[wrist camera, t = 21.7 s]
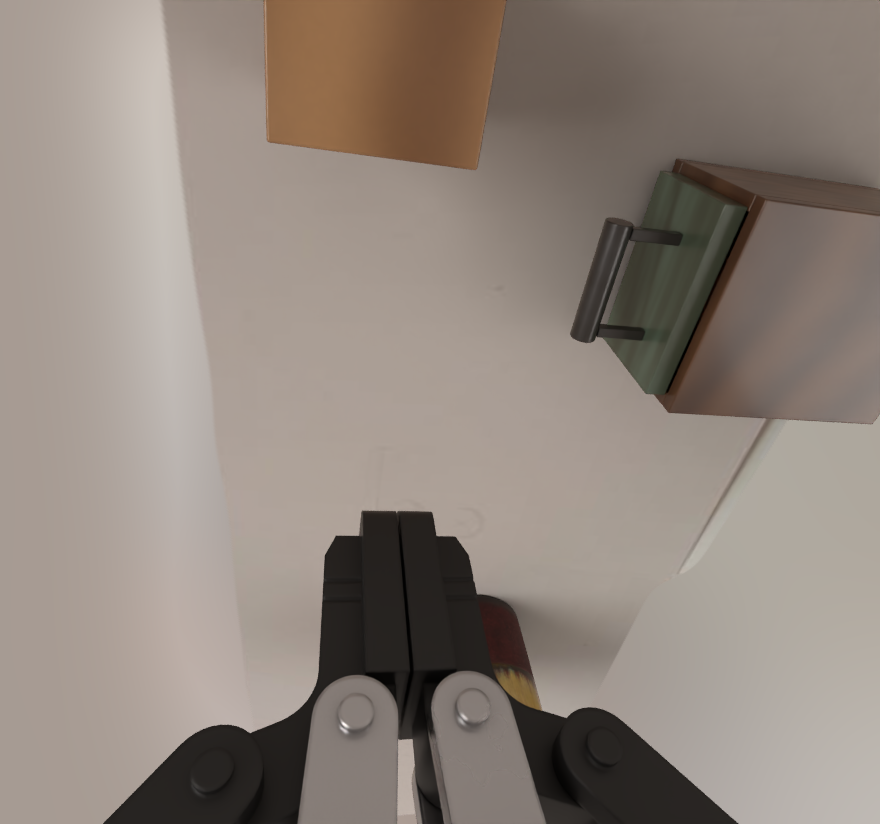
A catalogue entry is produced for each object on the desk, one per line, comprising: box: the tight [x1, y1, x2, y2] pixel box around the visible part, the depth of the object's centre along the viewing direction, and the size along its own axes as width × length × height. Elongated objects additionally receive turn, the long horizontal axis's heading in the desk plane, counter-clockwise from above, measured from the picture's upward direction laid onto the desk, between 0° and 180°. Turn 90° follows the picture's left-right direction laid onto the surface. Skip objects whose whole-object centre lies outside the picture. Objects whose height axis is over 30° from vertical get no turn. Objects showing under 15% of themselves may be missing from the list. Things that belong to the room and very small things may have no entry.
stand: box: [264, 0, 507, 170], centre depth 22 cm, size 7×7×12 cm
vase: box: [477, 595, 542, 711], centre depth 47 cm, size 11×11×20 cm
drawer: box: [570, 171, 749, 395], centre depth 32 cm, size 17×10×7 cm, turn 81°
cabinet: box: [654, 159, 880, 424], centre depth 33 cm, size 14×12×9 cm
